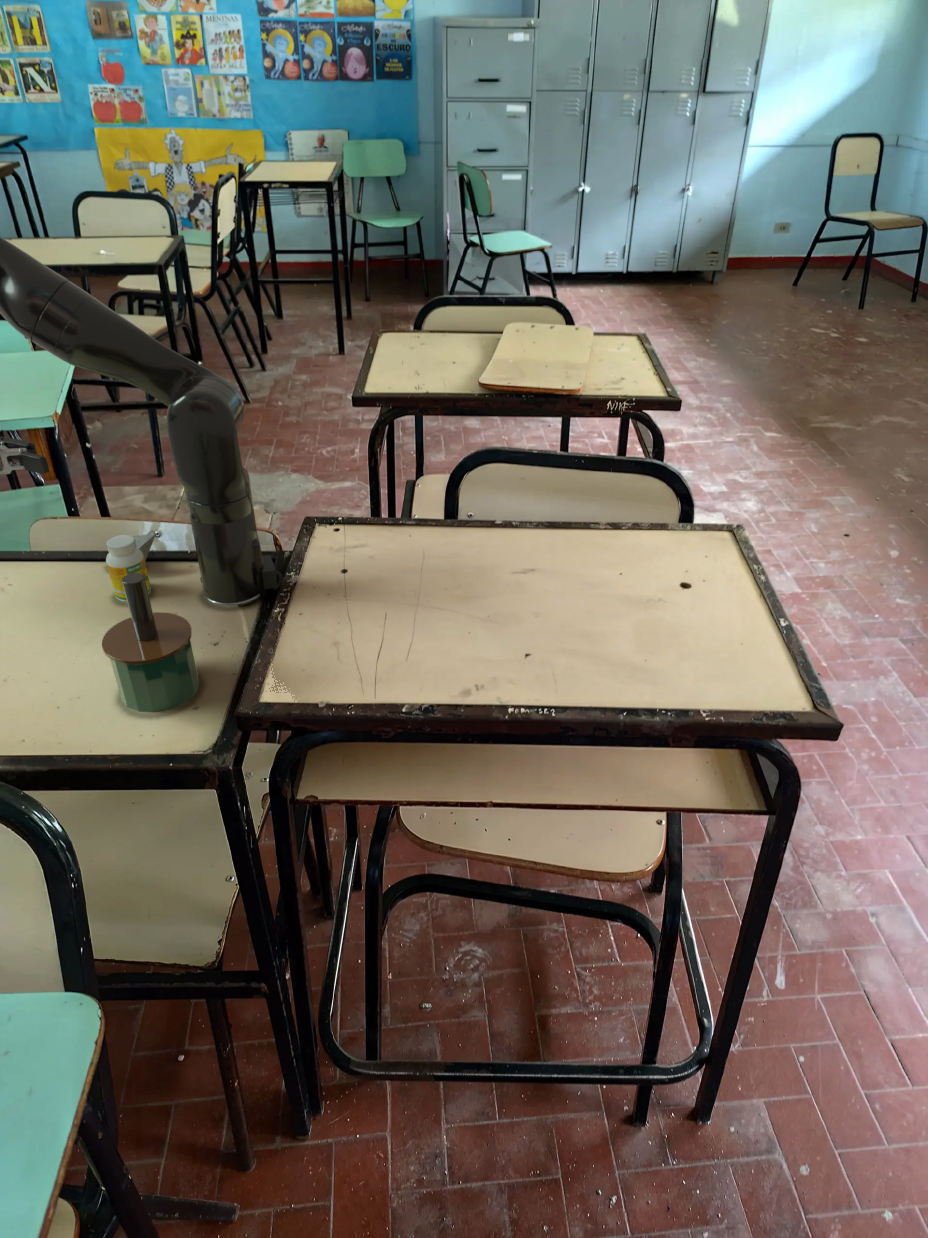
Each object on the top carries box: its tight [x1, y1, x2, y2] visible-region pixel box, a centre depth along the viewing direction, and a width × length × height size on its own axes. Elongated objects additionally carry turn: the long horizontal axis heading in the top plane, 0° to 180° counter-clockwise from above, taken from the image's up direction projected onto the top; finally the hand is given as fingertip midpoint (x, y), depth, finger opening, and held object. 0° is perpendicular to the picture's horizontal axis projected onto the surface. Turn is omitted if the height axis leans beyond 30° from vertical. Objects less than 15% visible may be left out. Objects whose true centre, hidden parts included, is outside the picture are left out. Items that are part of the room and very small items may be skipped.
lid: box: [101, 573, 193, 664], centre depth 105 cm, size 11×11×10 cm
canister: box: [109, 638, 200, 713], centre depth 110 cm, size 10×10×8 cm
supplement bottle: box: [105, 534, 152, 602], centre depth 129 cm, size 5×5×10 cm
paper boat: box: [131, 529, 157, 562], centre depth 138 cm, size 12×6×9 cm
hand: (17, 478), depth 104 cm, fingers open, 8 cm apart
